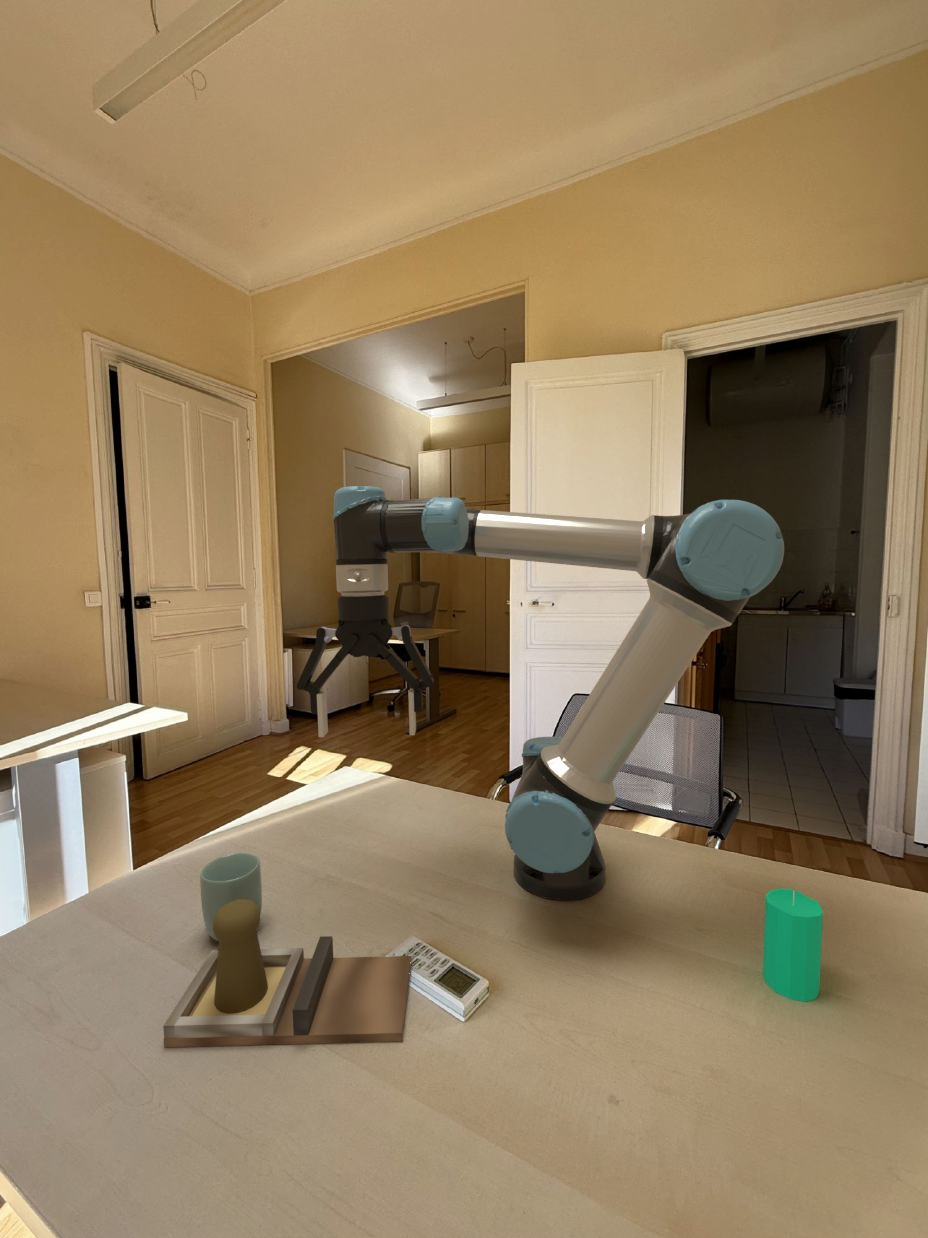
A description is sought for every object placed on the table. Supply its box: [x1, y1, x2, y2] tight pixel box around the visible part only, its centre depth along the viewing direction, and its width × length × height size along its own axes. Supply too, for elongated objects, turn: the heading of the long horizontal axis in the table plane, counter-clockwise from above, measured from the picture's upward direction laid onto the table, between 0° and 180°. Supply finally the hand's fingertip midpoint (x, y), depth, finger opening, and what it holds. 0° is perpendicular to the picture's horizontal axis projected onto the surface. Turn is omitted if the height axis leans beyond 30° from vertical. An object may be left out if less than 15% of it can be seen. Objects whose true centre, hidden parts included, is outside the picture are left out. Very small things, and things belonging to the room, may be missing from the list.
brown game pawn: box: [213, 899, 268, 1014], centre depth 66 cm, size 6×6×11 cm
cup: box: [199, 852, 263, 942], centre depth 79 cm, size 8×8×10 cm
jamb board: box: [162, 935, 412, 1048], centre depth 66 cm, size 26×12×4 cm, turn 90°
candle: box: [762, 887, 824, 1003], centre depth 67 cm, size 6×6×12 cm
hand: (368, 733), depth 84 cm, fingers open, 13 cm apart
